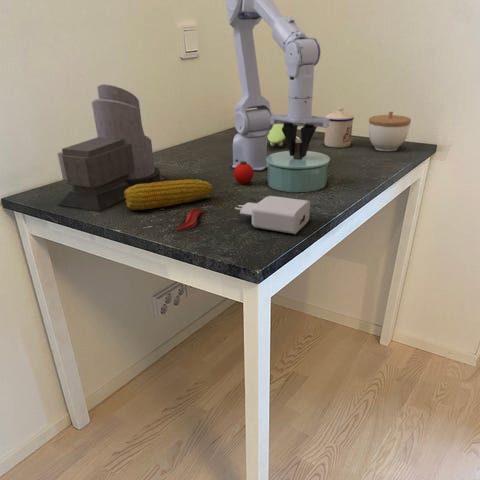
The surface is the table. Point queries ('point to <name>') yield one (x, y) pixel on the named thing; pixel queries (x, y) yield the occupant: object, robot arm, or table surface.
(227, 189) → the table surface
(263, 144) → the robot arm
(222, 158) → the table surface
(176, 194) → the food
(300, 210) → the charger
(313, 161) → the pan lid
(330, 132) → the teacup with lid
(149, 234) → the table surface
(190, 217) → the cayenne pepper
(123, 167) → the grey piece
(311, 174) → the pan
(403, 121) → the lidded bowl
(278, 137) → the figurine
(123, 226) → the table surface
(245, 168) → the tomato
